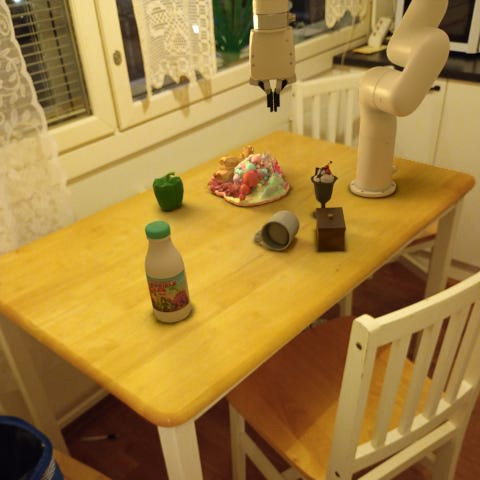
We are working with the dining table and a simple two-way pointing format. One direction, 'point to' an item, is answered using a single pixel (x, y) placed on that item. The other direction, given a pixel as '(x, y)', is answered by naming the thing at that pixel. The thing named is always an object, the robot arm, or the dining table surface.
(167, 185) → the bell pepper
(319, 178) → the sundae
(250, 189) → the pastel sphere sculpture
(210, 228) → the dining table surface
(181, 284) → the milk bottle
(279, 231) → the ceramic mug
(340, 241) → the tea box
